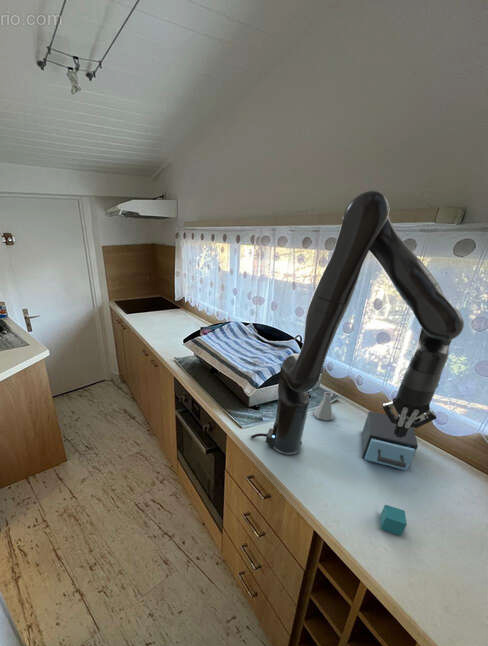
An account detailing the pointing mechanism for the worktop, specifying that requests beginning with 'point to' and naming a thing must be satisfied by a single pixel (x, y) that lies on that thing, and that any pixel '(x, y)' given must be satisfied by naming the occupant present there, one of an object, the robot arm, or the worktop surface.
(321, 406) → the flask
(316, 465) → the worktop surface
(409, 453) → the light blue drawer box
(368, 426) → the grey hollow box
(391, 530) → the teal block
